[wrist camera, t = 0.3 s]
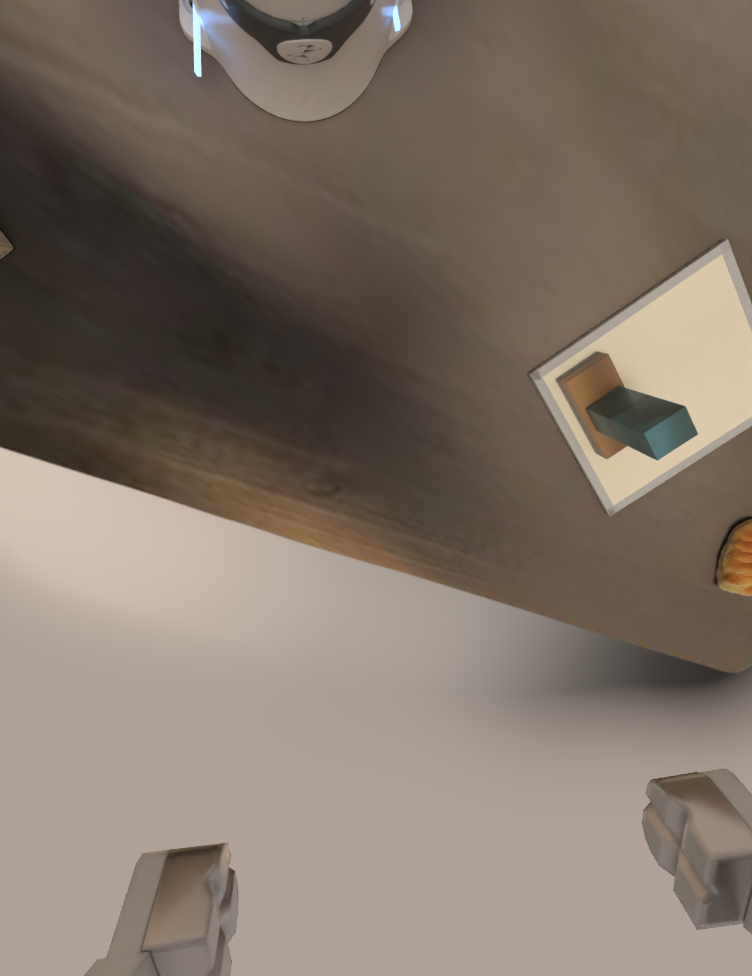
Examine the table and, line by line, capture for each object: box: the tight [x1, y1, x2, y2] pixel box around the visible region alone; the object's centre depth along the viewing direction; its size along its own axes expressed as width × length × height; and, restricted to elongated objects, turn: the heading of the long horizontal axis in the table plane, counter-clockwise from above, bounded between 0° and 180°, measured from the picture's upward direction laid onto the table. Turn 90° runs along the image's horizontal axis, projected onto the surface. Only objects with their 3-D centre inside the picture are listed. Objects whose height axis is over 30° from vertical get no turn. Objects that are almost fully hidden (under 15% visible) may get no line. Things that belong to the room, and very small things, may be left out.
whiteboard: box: [528, 239, 752, 516], centre depth 58 cm, size 23×20×1 cm
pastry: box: [716, 519, 752, 596], centre depth 65 cm, size 9×7×4 cm
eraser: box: [556, 352, 698, 461], centre depth 51 cm, size 5×10×13 cm, turn 34°
